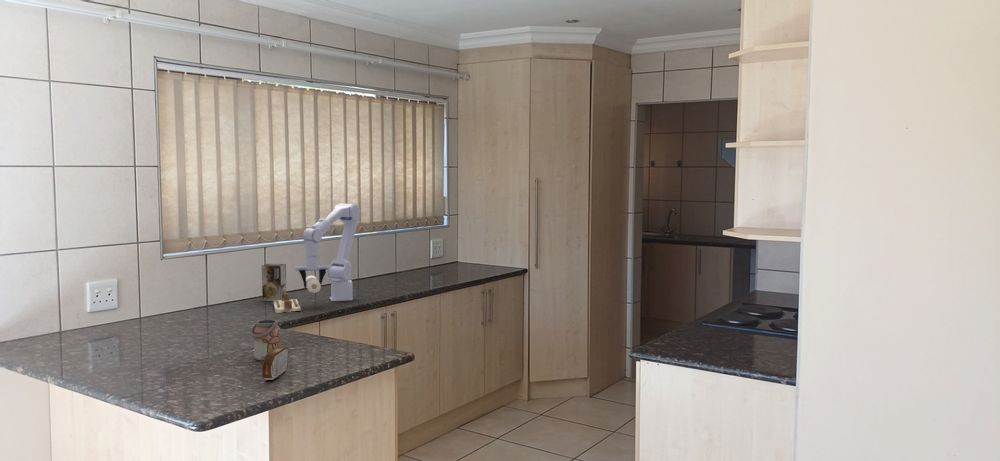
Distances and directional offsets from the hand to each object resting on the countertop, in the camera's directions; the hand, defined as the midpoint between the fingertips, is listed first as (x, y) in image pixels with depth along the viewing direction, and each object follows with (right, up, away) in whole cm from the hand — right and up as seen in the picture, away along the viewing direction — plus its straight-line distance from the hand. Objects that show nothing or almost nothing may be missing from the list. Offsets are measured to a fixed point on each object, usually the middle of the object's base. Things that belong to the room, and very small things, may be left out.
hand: (312, 287), depth 317 cm
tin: (+15, -19, -101) cm, 104 cm away
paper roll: (0, -1, 0) cm, 1 cm away
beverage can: (+6, -17, -82) cm, 84 cm away
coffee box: (-21, -7, +13) cm, 26 cm away
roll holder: (-10, -9, -3) cm, 14 cm away
